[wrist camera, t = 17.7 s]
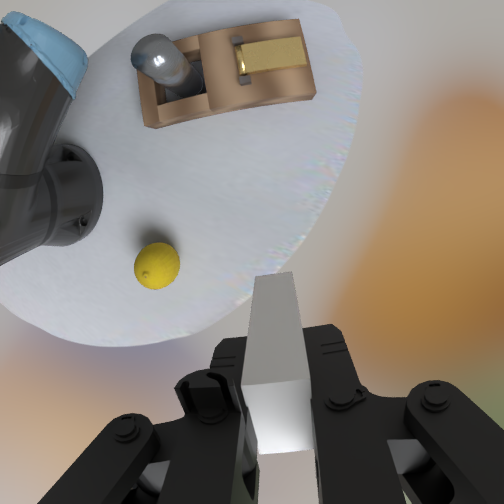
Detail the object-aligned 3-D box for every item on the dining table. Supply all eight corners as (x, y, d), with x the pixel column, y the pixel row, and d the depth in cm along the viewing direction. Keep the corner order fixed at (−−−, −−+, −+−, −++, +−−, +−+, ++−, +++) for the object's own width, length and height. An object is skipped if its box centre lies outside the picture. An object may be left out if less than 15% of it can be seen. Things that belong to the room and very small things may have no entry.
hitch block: (156, 128, 36) (140, 125, 31) (147, 62, 33) (131, 51, 28) (311, 99, 34) (318, 90, 29) (296, 31, 31) (299, 14, 26)
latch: (240, 76, 30) (239, 73, 29) (235, 49, 29) (233, 46, 28) (306, 66, 28) (306, 63, 27) (300, 39, 27) (300, 36, 26)
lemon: (143, 242, 40) (117, 261, 32) (178, 230, 39) (157, 247, 32) (157, 279, 42) (135, 303, 34) (192, 269, 41) (175, 293, 33)
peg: (175, 101, 34) (132, 77, 22) (171, 74, 33) (129, 42, 21) (205, 94, 34) (174, 64, 22) (200, 67, 33) (169, 28, 20)
